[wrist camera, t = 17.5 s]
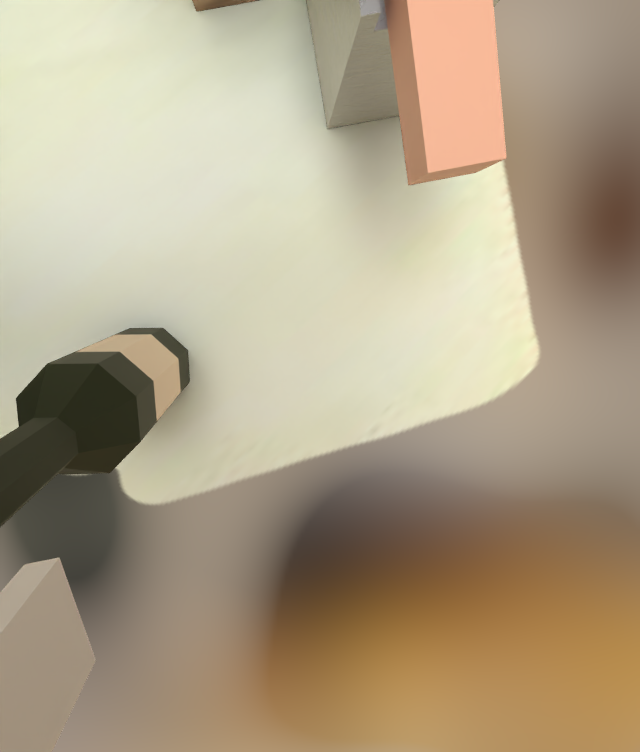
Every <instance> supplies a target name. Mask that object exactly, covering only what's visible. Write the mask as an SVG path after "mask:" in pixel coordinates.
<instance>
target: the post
mask: <svg viewBox="0 0 640 752" xmlns="http://www.w3.org/2000/svg"><path fill="white" fill-rule="evenodd" d="M192 1H193V3H194V6H195V9H196V11H202V10H208V9H213V8H219V7H224V6H230V5H236V4H241V3H247V2H252V1H258V0H192Z"/></svg>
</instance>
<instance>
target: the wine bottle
mask: <svg viewBox="0 0 640 752" xmlns="http://www.w3.org/2000/svg"><path fill="white" fill-rule="evenodd" d="M189 382H190V378H189V362H188V350H187V349H186V348H185V347H183V346H182V345H181V344H180V343H179V342H178V341H177V340H176V339H175V338H173V337H172V336H171V335H170V334H169V333H168V332H167V331H166V330H165V329H164V328H129V329H127V330H125V331H122V332H120V333H118V334H115V335H113V336H111V337H109V338H106V339H104V340H102V341H99V342H97V343H95V344H92V345H90V346H88V347H85V348H83V349H81V350H78V351H76V352H74V353H71V354H69V355H67V356H64V357H62V358H60V359H58V360H55V361H53V362H51V363H48V364H47V365H46V366H45V367H44V368H43V369H42V370H41V371H40V372H39V373H38V375H37V376H36V377H35V378H34V379H33V380H32V381H31V382H30V383H29V384H28V386H27V387H26V388H25V389H24V390H23V391H22V392H21V393H20V394H19V395H18V397H17V398H16V403H17V413H18V422H19V427H18V428H17V429H15V430H14V431H12V432H10V433H9V434H7V435H6V436H4V437H2V438H1V439H0V527H1V526H2V525H3V524H4V523H5V522H6V521H7V520H9V518H11V517H12V516H13V515H14V514H15V513H16V512H17V511H18V510H19V509H21V508H22V507H23V506H24V505H25V504H26V503H27V502H28V501H29V500H30V499H31V498H32V497H33V496H35V495H36V494H37V492H39V491H40V490H41V489H42V488H43V487H44V486H45V485H46V484H47V483H49V482H50V481H51V480H52V479H53V478H54V477H55V476H56V475H57V474H58V473H59V474H95V473H110V472H111V471H112V470H113V469H114V468H115V467H116V466H117V465H118V464H119V463H120V462H121V461H122V460H123V459H124V458H125V457H126V456H127V455H128V454H129V453H130V452H131V451H132V450H133V449H134V448H135V447H136V446H137V445H138V444H139V443H140V442H141V440H142V439H143V438H144V437H145V435H146V434H147V433H148V432H149V431H150V429H151V428H152V427H153V426H154V424H155V423H156V422H157V421H158V420H159V418H160V417H161V416H162V415H163V413H164V412H165V411H166V410H167V409H168V407H169V406H170V405H171V404H172V402H173V401H174V400H175V399H176V398H177V396H178V395H179V394H180V393H181V391H182V390H183V389H184V388H185V387H186V385H187V384H188V383H189Z"/></svg>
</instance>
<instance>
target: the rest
mask: <svg viewBox="0 0 640 752" xmlns="http://www.w3.org/2000/svg"><path fill="white" fill-rule="evenodd" d="M498 1H499V0H493V6H495V5H496V4H497V3H498ZM306 2H307V8H308V14H309V21H310V27H311V33H312V39H313V45H314V51H315V57H316V63H317V69H318V75H319V81H320V87H321V93H322V99H323V105H324V111H325V117H326V124H327V129H330V128H335V127H341V126H346V125H352V124H357V123H363V122H368V121H373V120H379V119H384V118H390V117H395V116H399V110H398V102H397V95H396V87H395V80H394V72H393V64H392V57H391V49H390V42H389V34H388V27H387V19H386V12H385V4H384V0H306Z"/></svg>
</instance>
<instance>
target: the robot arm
mask: <svg viewBox="0 0 640 752" xmlns="http://www.w3.org/2000/svg"><path fill="white" fill-rule="evenodd" d="M95 661H96V659H95V656H94V654H93V651H92V648H91V645H90V642H89V639H88V637H87V634H86V631H85V628H84V625H83V623H82V620H81V617H80V615H79V612H78V609H77V606H76V603H75V600H74V598H73V595H72V592H71V589H70V586H69V583H68V581H67V578H66V575H65V572H64V569H63V567H62V564H61V561H60V558H54V559H50V560H45V561H40V562H35V563H30V564H25V565H24V566H23V567H22V568H21V569H20V570H19V571H18V573H17V574H16V575H15V576H14V577H13V578H12V580H11V581H10V582H9V583H8V584H7V585H6V587H4V589H3V590H2V591H1V592H0V752H52V751H53V748H54V747H55V744H56V742H57V740H58V738H59V736H60V734H61V732H62V730H63V728H64V726H65V724H66V722H67V720H68V717H69V715H70V713H71V711H72V709H73V707H74V705H75V703H76V701H77V699H78V697H79V695H80V693H81V690H82V688H83V686H84V684H85V682H86V680H87V678H88V676H89V674H90V672H91V670H92V668H93V666H94V663H95Z"/></svg>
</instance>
